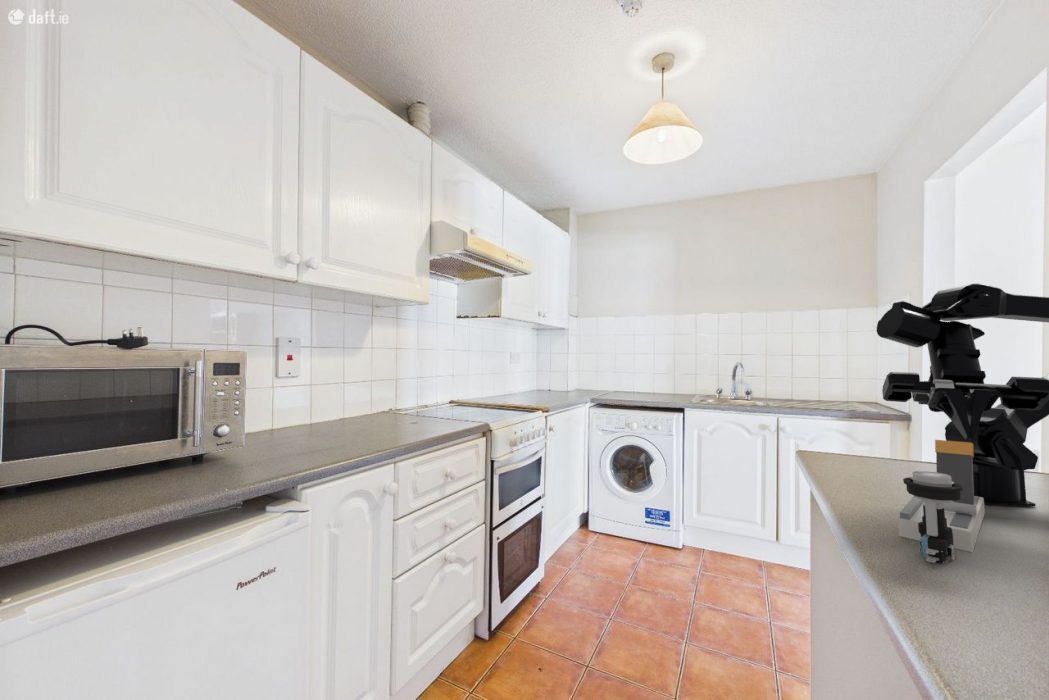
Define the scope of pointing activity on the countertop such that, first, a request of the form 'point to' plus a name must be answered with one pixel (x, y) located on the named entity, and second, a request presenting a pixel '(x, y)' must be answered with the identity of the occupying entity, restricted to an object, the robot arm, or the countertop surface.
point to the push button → (934, 512)
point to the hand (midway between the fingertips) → (969, 438)
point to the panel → (961, 524)
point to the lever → (957, 472)
